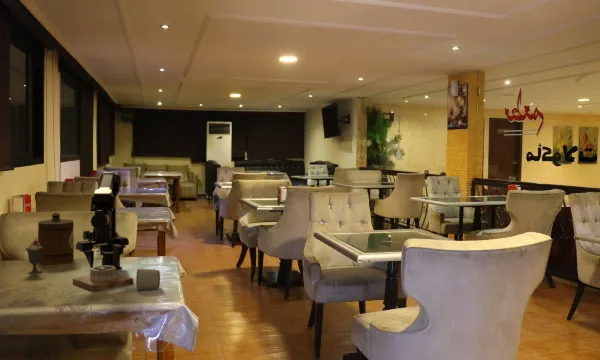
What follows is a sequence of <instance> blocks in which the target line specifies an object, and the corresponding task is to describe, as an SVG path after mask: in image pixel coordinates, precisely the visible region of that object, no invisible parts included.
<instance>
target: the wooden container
mask: <svg viewBox="0 0 600 360" xmlns="http://www.w3.org/2000/svg"><path fill="white" fill-rule="evenodd" d="M74 222H75V221H74V220H73V219H64V218H61V214H60V213H59V212H54V213H52V214H51V218H50V219H46V220H45V219H44V220H39V221H38V223H37V226H38V227H37V229H38V230H37V241H38V243H39V244H40V246H41V247H42V248H44V249H42V252H41V259H40V262H39V263H38V264H43V265H59V264H61V265H62V264H67V263H71V262H73V261H74V260H75V259H74V257H75V256H74V253H75V252H74V247H75V245H74V243H75V241H74V240H75V239H74V226H75V225H74Z"/></svg>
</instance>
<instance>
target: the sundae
mask: <svg viewBox="0 0 600 360" xmlns="http://www.w3.org/2000/svg"><path fill="white" fill-rule="evenodd" d="M42 249H44V248H42V247H41V246H40V244H39V243H38V236H37V237H36V236H35V238H34V240H33V242H31V243H30V245H29V246H28V247H27V248H25V251H26V252H27V256H28V263H30V264H31V265H32V269H31V271H29V272H28V273H27V274H29V275H38V274H41V273H42V271H40V270H38V269H37V265H38V264H40V263H39V262H40V259H41V252H42Z"/></svg>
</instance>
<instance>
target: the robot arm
mask: <svg viewBox="0 0 600 360" xmlns="http://www.w3.org/2000/svg"><path fill="white" fill-rule="evenodd" d="M122 186H123V180H122V176H121V175H118V174H117V173H115V172H114V171H111V172H110V171H104V172H102V173H101V175H99V188H98V189H95V191H94V193H93V195H91V202H90V212H94V215H92V217H91V218H90V224H91V226H92V227H93V229H92V231H90V230H84V231H83V232H82V237H83V240H82V241H77V243H76V244H75V250H78V251H79V252H82V253H83V254H84V256H85V257H86V259H87V262H88V265H89V267H90V269H91V268H93V267H94V258H95V257H94V256H95V250H93V249H94V248H98V247H99V250H100V251H99V255H100V256H102V258H101V266H105V265H108V266H115V267H116V270H118V269H119V270H121V269H122V268H123V267H122V266H121V256H122V255H124V249H125V248H126V247H127V246H129V245H130V240H129V238H128V237H125V236H121V235H120V234H119V233H118V231H117V197H118V195H119V193H120V192H121V188H122Z"/></svg>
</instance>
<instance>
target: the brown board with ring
mask: <svg viewBox="0 0 600 360" xmlns="http://www.w3.org/2000/svg"><path fill="white" fill-rule="evenodd" d="M98 267H110V269H108V270H96V268H98ZM89 272H90V273H89V274H90V275H85V276H84V275H83V276H79V277H73V278H72V284H74V285H76V286H77V287H81V288H84V289H86V290H89V291H91V292H93V293H94V292H98V291H105V290H108V289H113V288H119V287H123V286H128V285H133V284H134V278H133V277H130V276H127V275H123V274H121V273H118V272H117V269H116V267H115V266H108V265H105V266H102V265H97V266H93V268H90V270H89Z"/></svg>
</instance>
